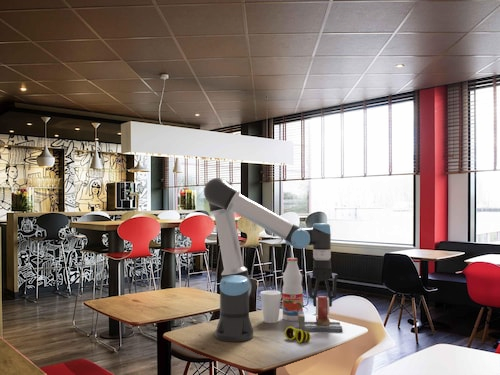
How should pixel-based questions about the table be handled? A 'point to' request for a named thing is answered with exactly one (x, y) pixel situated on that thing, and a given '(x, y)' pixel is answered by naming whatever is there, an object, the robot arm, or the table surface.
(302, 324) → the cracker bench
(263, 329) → the table surface
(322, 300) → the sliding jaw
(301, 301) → the fruit juice
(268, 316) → the foam cup
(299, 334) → the opera glasses
